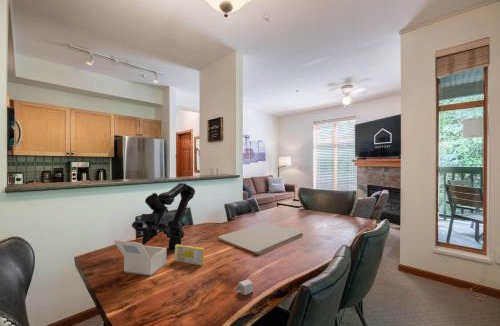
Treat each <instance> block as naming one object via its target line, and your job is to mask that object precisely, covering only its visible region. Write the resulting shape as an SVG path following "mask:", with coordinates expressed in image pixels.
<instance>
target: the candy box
mask: <svg viewBox="0 0 500 326" xmlns="http://www.w3.org/2000/svg"><path fill="white" fill-rule="evenodd" d="M204 256H205V248H204V247H198V246H192V245H191V246H190V245H184V244H181V245H179V244H177V245H175V249H174V262H179V263H184V264H189V265H196V266H201V267H202V266H204V263H205V257H204Z"/></svg>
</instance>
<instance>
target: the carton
mask: <svg viewBox="0 0 500 326" xmlns="http://www.w3.org/2000/svg"><path fill="white" fill-rule="evenodd" d="M143 247H144V249H145V250H146V252H147V253H148V255H149V257H150V259H145V258H137V257H129V256H124V255H123V264H124V265H123V272H124V273H127V274H135V275H141V276H142V275H143V276H148V277H151V276H153V275H154V274H156V272H158V271H159V270H160V269H162V268H164V267H165V266H166V265H167V248H166V247H161V246H160V247H158V246H151V245H143Z"/></svg>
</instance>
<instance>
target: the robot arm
mask: <svg viewBox="0 0 500 326" xmlns="http://www.w3.org/2000/svg"><path fill="white" fill-rule="evenodd" d="M195 194H196V190H195V189H194V187H193V186H190V185H188V184H187V183H184V182H183V183H182V182H181V183H178V184H177V185H176V186H174V187H173V188H171V189H170V190H168V191H165V192H162V193H160V194H158V192H157V193H156V192H152V194H151V195H148V196H147V197H146V198H145V200H144V203H145V204H146V206H148V208H150V210H151V211H152V212H151V213H142V214H141V216H140V221H137V220H136V221H135V220H134V221H133V222H132V224H131V227H132V228H133V229H134V230H135V231H136V232H141V233H142V240H141V241H142V242H141V244H142V245H143V246H146V244H147V243H148V242H150V241H151V240H152V239H153V238H154V237H157V236H158V235H159V234H160V231H162V233H163V234H164V235H166V238H168V249H169V250H170V251H171V250H172V251H173V250H174V251H175V245H177V244H179V245H182V239H183V238H184V237H185V232H184V230H183V224H182V223H183V218H184V215H185V213H186V210H187V208H188V204H189V201H191V200H192V199H193V198H194V195H195ZM179 195H180V200H179V203H178V206H177V209H176V212H175V214H174V217H173V219H172V220H169V221H168V223H161V222H163V221H164V219H163V218H164V216H165V214H166V213H168V212H169V209H168V206H171V205H172V204H173V203H174V201H175V198H176V197H177V196H179Z"/></svg>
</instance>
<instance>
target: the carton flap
mask: <svg viewBox="0 0 500 326" xmlns="http://www.w3.org/2000/svg"><path fill="white" fill-rule="evenodd" d="M112 241H113V242H114V244H115V245H116V246H117V249H118V250H119V251H120V253H121V254H122V255H123V257H124V256H129V257H137V258H145V259H150V257H149V255H148V253H147V252H146V250H145V249H144V247H143V246H144V245H143V244H142V242H135V241H127V240H116V239H113V240H112Z"/></svg>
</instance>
